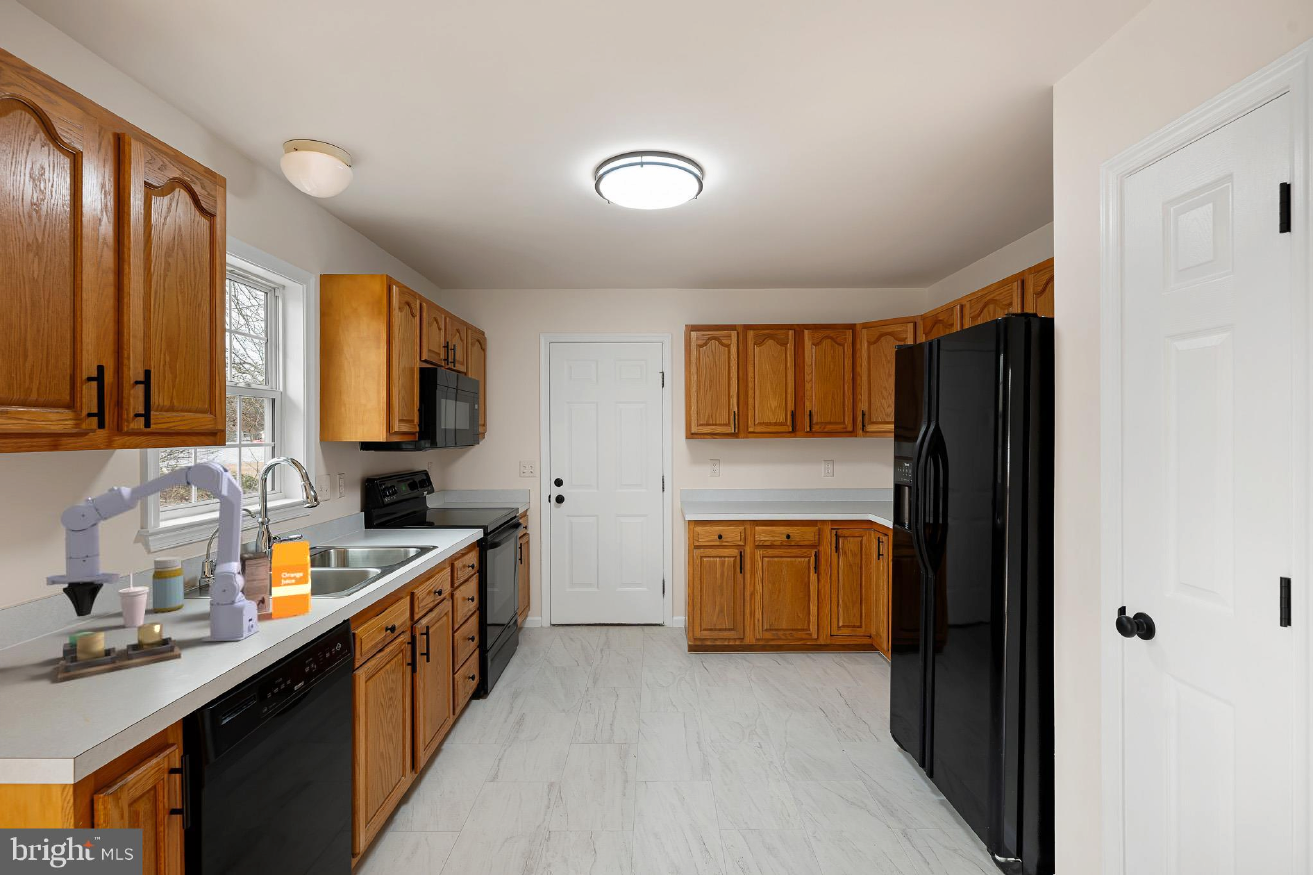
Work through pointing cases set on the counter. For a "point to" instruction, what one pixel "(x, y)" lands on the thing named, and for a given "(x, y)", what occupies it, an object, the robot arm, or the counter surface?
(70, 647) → the button box
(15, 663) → the counter surface
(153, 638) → the cylinder
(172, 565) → the bottle
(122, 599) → the smoothie
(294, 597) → the orange juice
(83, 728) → the counter surface
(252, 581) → the coffee box
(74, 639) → the button
